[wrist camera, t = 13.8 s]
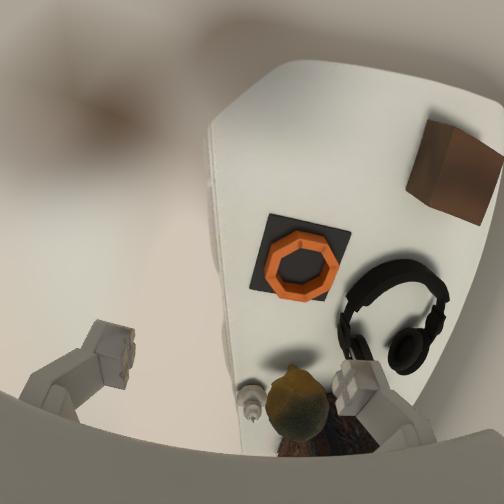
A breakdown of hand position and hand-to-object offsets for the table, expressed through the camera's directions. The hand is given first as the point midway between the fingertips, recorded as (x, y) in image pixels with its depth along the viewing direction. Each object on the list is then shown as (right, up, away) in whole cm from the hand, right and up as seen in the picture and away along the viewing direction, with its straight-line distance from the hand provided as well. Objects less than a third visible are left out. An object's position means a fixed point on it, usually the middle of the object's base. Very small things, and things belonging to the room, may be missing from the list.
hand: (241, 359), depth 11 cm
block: (+26, +15, +24) cm, 39 cm away
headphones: (+22, -5, +35) cm, 42 cm away
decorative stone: (+7, -15, +40) cm, 43 cm away
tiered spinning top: (0, -21, +43) cm, 48 cm away
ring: (+7, +3, +30) cm, 31 cm away
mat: (+7, +3, +30) cm, 31 cm away
